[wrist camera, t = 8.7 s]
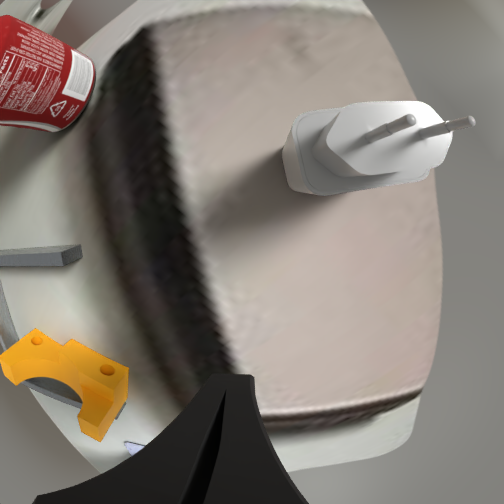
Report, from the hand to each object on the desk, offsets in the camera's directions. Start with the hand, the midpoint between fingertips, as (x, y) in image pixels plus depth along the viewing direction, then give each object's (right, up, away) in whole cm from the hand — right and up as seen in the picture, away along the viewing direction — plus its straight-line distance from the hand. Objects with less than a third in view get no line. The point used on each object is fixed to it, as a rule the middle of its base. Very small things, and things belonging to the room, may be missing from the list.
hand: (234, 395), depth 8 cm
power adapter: (+5, +10, +8) cm, 14 cm away
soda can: (-14, +18, +7) cm, 24 cm away
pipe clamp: (-16, -5, +13) cm, 22 cm away
